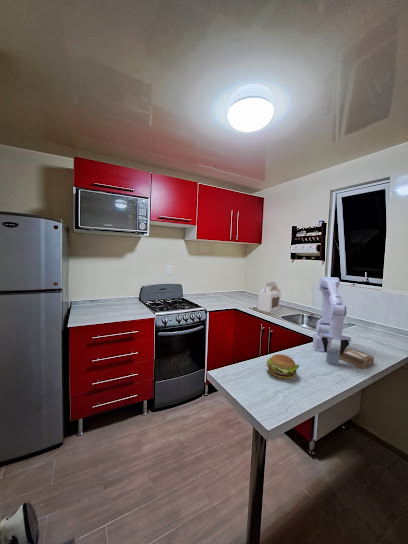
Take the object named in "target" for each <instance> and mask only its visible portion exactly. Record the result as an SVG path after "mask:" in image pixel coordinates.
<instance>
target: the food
mask: <svg viewBox="0 0 408 544" xmlns="http://www.w3.org/2000/svg"><path fill="white" fill-rule="evenodd" d="M266 362H267V363H266V367H267V368H268V371H269V373H270V374H271V375H272V376H274V377H277V378H278V379H283V380H292V379H294V378H295V376H296V374H297V370H298V368H300V364H296V362H295V361H294V360H293V358H292V357H290V356H288V355H286V354H278V353H277V354H273V355H272V356H271V357H269V358H268V359H266Z"/></svg>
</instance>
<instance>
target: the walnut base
mask: <svg viewBox="0 0 408 544" xmlns="http://www.w3.org/2000/svg"><path fill="white" fill-rule="evenodd" d="M338 354H339V361H340V360H341V361H343V362H345V363H348V364H349V365H352V366H355V367H358V368H359V369H362V370H364V369H366V368H368V367H370V366H372V365H374V359H375V356H373V355H370V354H367V353H365V352H362V351H360V350H357V349H354V348H352V347H349V348H346V349H345V351H344V353H343V355H341V354H340V351H339V353H338Z"/></svg>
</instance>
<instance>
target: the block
mask: <svg viewBox="0 0 408 544" xmlns="http://www.w3.org/2000/svg"><path fill="white" fill-rule="evenodd" d="M325 362H326V363H327V364H328V365H329V366H330V365H331V366H336V367H339V363H340V359H339V353H338V351H337V350H332V349H331V350H327V353H326V359H325Z"/></svg>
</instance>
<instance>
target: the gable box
mask: <svg viewBox="0 0 408 544" xmlns="http://www.w3.org/2000/svg"><path fill="white" fill-rule="evenodd" d="M281 295H282V293H281V291H280V289H279V287H278V286H277V283H276V282H275V281H270V282H267V283H266V285H264V286H263V287H262V288H261V290H260V291H259V292H258V299H257V301H258V302H257V310H258V311H262V312H266V313H273V312H275V311H278V310H280V307H281V306H280V305H281Z"/></svg>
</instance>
